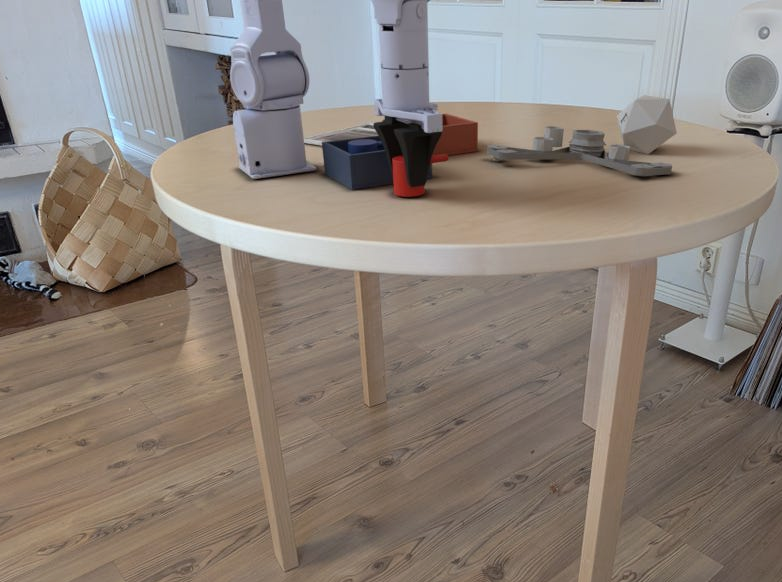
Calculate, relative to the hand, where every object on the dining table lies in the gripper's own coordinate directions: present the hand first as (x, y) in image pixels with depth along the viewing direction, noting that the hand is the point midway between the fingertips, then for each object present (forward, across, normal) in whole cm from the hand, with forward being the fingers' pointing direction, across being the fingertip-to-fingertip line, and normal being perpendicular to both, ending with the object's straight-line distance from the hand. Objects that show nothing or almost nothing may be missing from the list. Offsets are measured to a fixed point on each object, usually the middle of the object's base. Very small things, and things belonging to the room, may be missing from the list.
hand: (409, 181), depth 85 cm
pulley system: (+2, +2, -30) cm, 30 cm away
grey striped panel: (+2, +38, -9) cm, 39 cm away
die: (+2, +3, -44) cm, 44 cm away
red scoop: (+1, 0, -2) cm, 2 cm away
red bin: (+2, +22, -15) cm, 27 cm away
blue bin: (+2, +11, 0) cm, 11 cm away
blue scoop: (+1, +11, 0) cm, 11 cm away
